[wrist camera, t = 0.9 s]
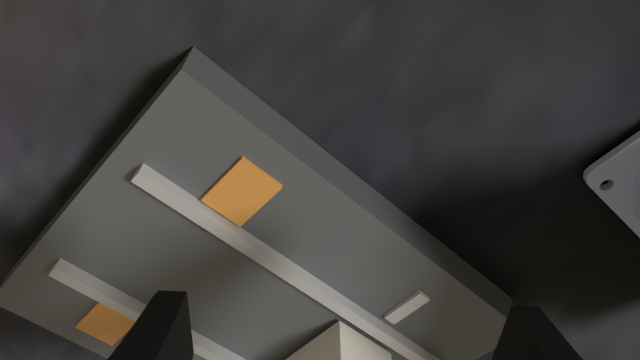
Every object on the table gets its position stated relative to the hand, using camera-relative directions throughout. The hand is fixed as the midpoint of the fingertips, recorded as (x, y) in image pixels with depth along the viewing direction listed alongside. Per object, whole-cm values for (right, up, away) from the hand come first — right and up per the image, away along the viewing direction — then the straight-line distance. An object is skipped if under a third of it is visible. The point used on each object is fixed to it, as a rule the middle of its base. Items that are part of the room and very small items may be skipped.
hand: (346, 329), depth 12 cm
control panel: (-3, -1, +13) cm, 13 cm away
